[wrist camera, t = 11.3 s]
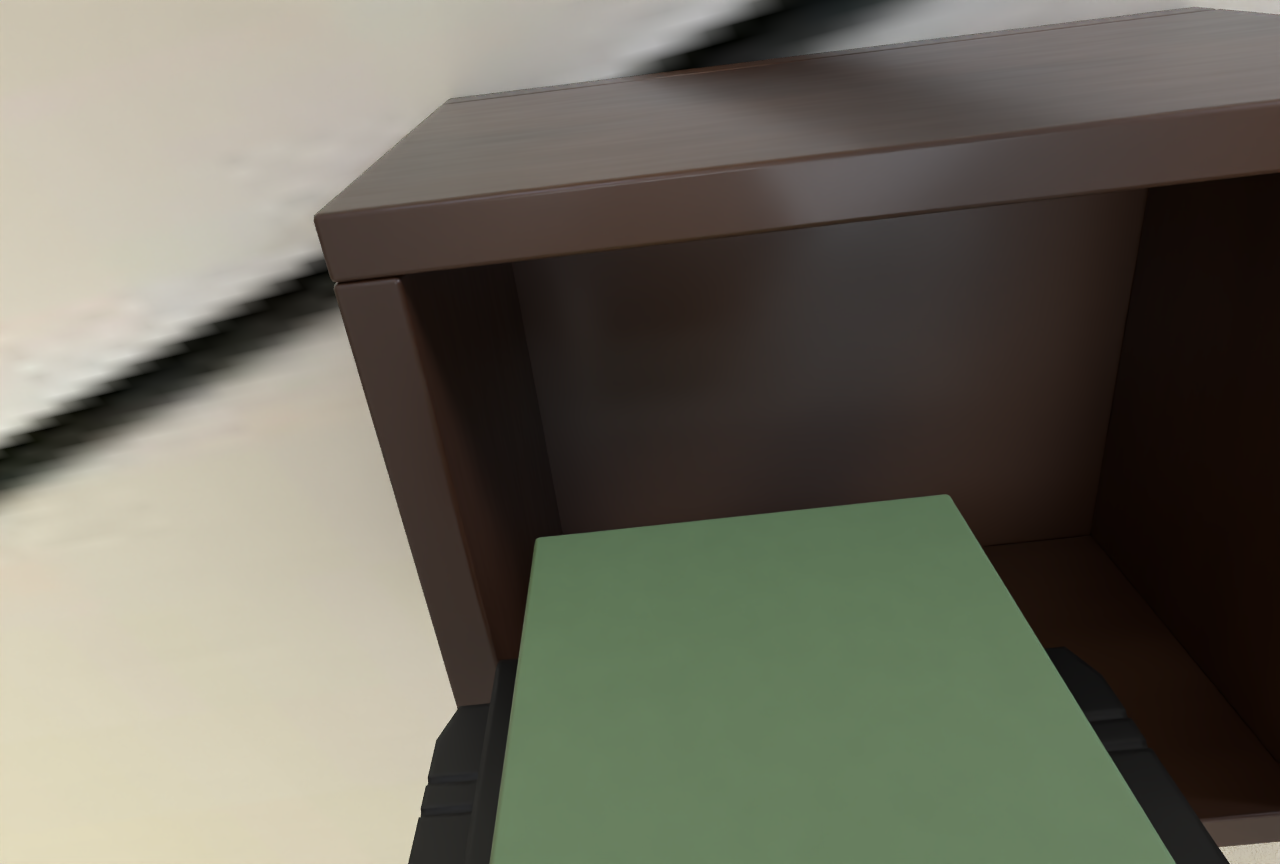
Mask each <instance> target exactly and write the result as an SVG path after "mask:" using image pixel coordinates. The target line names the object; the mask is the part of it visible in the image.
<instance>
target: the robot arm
mask: <svg viewBox="0 0 1280 864" xmlns="http://www.w3.org/2000/svg"><path fill="white" fill-rule="evenodd" d="M1044 650H1045V652H1046V653H1047V655H1048V656H1049V658H1050V660H1051V661H1052V663H1053V665H1054V666H1055V668H1056V669H1057V671H1058V673H1059V674H1060V676H1061V678H1062V679H1063V681H1064V682H1065V684H1066V686H1067V687H1068V689H1069V691H1070V692H1071V694H1072V695H1073V697H1074V699H1075V700H1076V702H1077V704H1078V705H1079V707H1080V708H1081V710H1082V712H1083V713H1084V715H1085V717H1086V718H1087V720H1088V721H1089V723H1090V725H1091V726H1092V728H1093V730H1094V731H1095V733H1096V734H1097V736H1098V738H1099V739H1100V741H1101V743H1102V744H1103V746H1104V747H1105V749H1106V751H1107V752H1108V754H1109V756H1110V757H1111V759H1112V760H1113V762H1114V764H1115V765H1116V767H1117V769H1118V770H1119V772H1120V773H1121V775H1122V777H1123V778H1124V780H1125V782H1126V783H1127V785H1128V786H1129V788H1130V790H1131V791H1132V793H1133V795H1134V796H1135V798H1136V800H1137V801H1138V803H1139V804H1140V806H1141V808H1142V809H1143V811H1144V813H1145V814H1146V816H1147V817H1148V819H1149V821H1150V822H1151V824H1152V826H1153V827H1154V829H1155V830H1156V832H1157V834H1158V835H1159V837H1160V839H1161V840H1162V842H1163V843H1164V845H1165V847H1166V848H1167V850H1168V852H1169V853H1170V855H1171V856H1172V858H1173V860H1174V861H1175V863H1176V864H1230V863H1229V862H1228V861H1227V859H1226V858H1225V856H1224V855H1223V853H1222V852H1221V850H1220V849H1219V847H1218V846H1217V844H1216V843H1215V841H1214V840H1213V838H1212V837H1211V835H1210V834H1209V832H1208V831H1207V829H1206V828H1205V826H1204V825H1203V823H1202V822H1201V821H1200V819H1199V818H1198V816H1197V815H1196V813H1195V812H1194V810H1193V809H1192V807H1191V806H1190V804H1189V803H1188V801H1187V800H1186V798H1185V797H1184V795H1183V794H1182V792H1181V791H1180V789H1179V788H1178V786H1177V785H1176V783H1175V782H1174V780H1173V779H1172V778H1171V776H1170V775H1169V773H1168V772H1167V770H1166V769H1165V767H1164V766H1163V764H1162V763H1161V761H1160V760H1159V758H1158V757H1157V755H1156V754H1155V752H1154V751H1153V749H1152V748H1148V746H1147V743H1146V739H1145V738H1144V736H1143V735H1142V733H1141V732H1140V730H1139V729H1138V727H1137V726H1136V724H1135V723H1134V721H1133V720H1132V718H1128V717H1127V713H1126V709H1125V708H1124V706H1123V705H1122V703H1121V702H1120V700H1119V699H1118V698H1117V696H1116V695H1115V693H1114V692H1113V690H1112V689H1111V687H1110V686H1109V684H1108V683H1107V681H1106V680H1105V678H1104V677H1103V675H1102V674H1100V673H1099V672H1098V671H1096V670H1095V669H1094V668H1092V667H1091V666H1090V665H1089V664H1087V663H1086V662H1085V661H1083V660H1082V659H1081V658H1079V657H1078V656H1077V655H1075V654H1074V653H1073V652H1072V651H1070V650H1069V649H1068V648H1066V647H1065V646H1063V647H1053V648H1044ZM517 666H518V658H516V659H507V660H500V661H499V662H498V664H497V666H496V671H495V677H494V682H493V688H492V694H491V700H490V703H487V704H477V705H467V706H460V707H459V708H458V710H457V711H456V713H455V714H454V716H453V717H452V719H451V720H450V721H449V723H448V724H447V726H446V727H445V729H444V730H443V732H442V733H441V734H440V736H439V737H438V739H437V740H436V744H435V749H434V753H433V757H432V762H431V766H430V771H429V775H428V785H427V786H426V788H425V792H424V797H423V801H422V806H421V817H419V819H418V823H417V828H416V832H415V836H414V841H413V845H412V849H411V854H410V858H409V863H408V864H490V857H491V850H492V843H493V835H494V828H495V821H496V814H497V807H498V800H499V793H500V786H501V779H502V772H503V765H504V758H505V750H506V743H507V736H508V729H509V722H510V715H511V708H512V701H513V694H514V687H515V680H516V673H517Z"/></svg>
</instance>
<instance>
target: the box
mask: <svg viewBox="0 0 1280 864" xmlns="http://www.w3.org/2000/svg"><path fill="white" fill-rule="evenodd" d="M314 224H315V227H316V231H317V234H318V237H319V241H320V244H321V248H322V251H323V254H324V258H325V261H326V264H327V268H328V271H329V275H330V278H331V279H332V281H333V282H337V283H336V284H335V285H334V292H335V295H336V298H337V302H338V305H339V309H340V312H341V315H342V319H343V322H344V325H345V329H346V332H347V336H348V339H349V342H350V346H351V349H352V353H353V356H354V359H355V363H356V366H357V369H358V373H359V376H360V380H361V383H362V386H363V390H364V393H365V397H366V400H367V403H368V407H369V410H370V414H371V417H372V420H373V424H374V427H375V430H376V434H377V437H378V441H379V444H380V447H381V451H382V454H383V458H384V461H385V464H386V468H387V471H388V474H389V478H390V481H391V485H392V488H393V491H394V495H395V498H396V502H397V505H398V508H399V512H400V515H401V519H402V522H403V525H404V529H405V532H406V535H407V539H408V542H409V546H410V549H411V552H412V556H413V559H414V563H415V566H416V569H417V573H418V576H419V579H420V583H421V586H422V590H423V593H424V596H425V600H426V603H427V607H428V610H429V613H430V617H431V620H432V624H433V627H434V630H435V634H436V637H437V640H438V644H439V647H440V651H441V654H442V657H443V661H444V664H445V668H446V671H447V674H448V678H449V681H450V684H451V688H452V691H453V695H454V698H455V701H456V705H457V708H459V707H460V706H467V705H477V704H487V703H490V700H491V694H492V688H493V682H494V677H495V671H496V666H497V664H498V662H499V661H500V660H507V659H516V658H519V651H520V644H521V637H522V630H523V623H524V616H525V609H526V602H527V595H528V588H529V581H530V573H531V566H532V559H533V552H534V545H535V541H536V539H537V538H539V537H548V536H558V535H567V534H577V533H586V532H595V531H605V530H614V529H624V528H633V527H642V526H652V525H661V524H670V523H680V522H689V521H699V520H708V519H717V518H727V517H736V516H745V515H755V514H764V513H774V512H783V511H792V510H802V509H811V508H820V507H830V506H839V505H849V504H858V503H867V502H877V501H886V500H896V499H905V498H914V497H924V496H933V495H942V494H946V495H949V496H950V497H951V499H952V500H953V502H954V504H955V505H956V507H957V508H958V510H959V512H960V513H961V515H962V517H963V518H964V520H965V521H966V523H967V525H968V526H969V528H970V530H971V531H972V533H973V534H974V536H975V538H976V539H977V541H978V543H979V544H980V546H981V547H982V549H983V551H984V552H985V554H986V556H987V557H988V559H989V560H990V562H991V564H992V565H993V567H994V569H995V570H996V572H997V573H998V575H999V577H1000V578H1001V580H1002V582H1003V583H1004V585H1005V586H1006V588H1007V590H1008V591H1009V593H1010V595H1011V596H1012V598H1013V599H1014V601H1015V603H1016V604H1017V606H1018V608H1019V609H1020V611H1021V612H1022V614H1023V616H1024V617H1025V619H1026V621H1027V622H1028V624H1029V625H1030V627H1031V629H1032V630H1033V632H1034V634H1035V635H1036V637H1037V638H1038V640H1039V642H1040V643H1041V645H1042V647H1043V648H1053V647H1063V646H1065V647H1066V648H1068V649H1069V650H1070V651H1072V652H1073V653H1074V654H1075V655H1077V656H1078V657H1079V658H1081V659H1082V660H1083V661H1085V662H1086V663H1087V664H1089V665H1090V666H1091V667H1092V668H1094V669H1095V670H1096V671H1098V672H1099V673H1100V674H1102V675H1103V677H1104V678H1105V680H1106V681H1107V683H1108V684H1109V686H1110V687H1111V689H1112V690H1113V692H1114V693H1115V695H1116V696H1117V698H1118V699H1119V700H1120V702H1121V703H1122V705H1123V706H1124V708H1125V709H1126V713H1127V717H1128V718H1132V720H1133V721H1134V723H1135V724H1136V726H1137V727H1138V729H1139V730H1140V732H1141V733H1142V735H1143V736H1144V738H1145V739H1146V743H1147V746H1148V748H1152V749H1153V751H1154V752H1155V754H1156V755H1157V757H1158V758H1159V760H1160V761H1161V763H1162V764H1163V766H1164V767H1165V769H1166V770H1167V772H1168V773H1169V775H1170V776H1171V778H1172V779H1173V780H1174V782H1175V783H1176V785H1177V786H1178V788H1179V789H1180V791H1181V792H1182V794H1183V795H1184V797H1185V798H1186V800H1187V801H1188V803H1189V804H1190V806H1191V807H1192V809H1193V810H1194V812H1195V813H1196V815H1197V816H1198V818H1199V819H1200V821H1201V822H1202V823H1203V825H1204V826H1205V828H1206V829H1207V831H1208V832H1209V834H1210V835H1211V837H1212V838H1213V840H1214V841H1215V843H1216V844H1217V846H1218V847H1226V846H1237V845H1248V844H1259V843H1270V842H1280V15H1278V14H1267V13H1256V12H1245V11H1234V10H1223V9H1218V10H1216V9H1211V8H1200V7H1190V8H1182V9H1174V10H1166V11H1158V12H1150V13H1142V14H1133V15H1125V16H1117V17H1109V18H1101V19H1093V20H1085V21H1077V22H1068V23H1060V24H1052V25H1044V26H1036V27H1028V28H1020V29H1012V30H1003V31H995V32H987V33H979V34H971V35H963V36H955V37H947V38H939V39H930V40H922V41H914V42H906V43H898V44H890V45H882V46H874V47H865V48H857V49H849V50H841V51H833V52H825V53H817V54H809V55H800V56H792V57H784V58H776V59H768V60H760V61H752V62H744V63H736V64H727V65H719V66H711V67H703V68H695V69H687V70H679V71H671V72H662V73H654V74H646V75H638V76H630V77H622V78H614V79H606V80H597V81H589V82H581V83H573V84H565V85H557V86H549V87H541V88H533V89H524V90H516V91H508V92H500V93H492V94H484V95H476V96H468V97H459V98H451V99H449V100H447V101H446V102H445V103H444V104H443V105H442V106H440V107H439V108H438V109H437V110H436V111H434V112H433V113H432V114H431V115H430V116H429V117H427V118H426V119H425V120H424V121H423V122H422V123H421V124H419V125H418V126H417V127H416V128H415V129H414V130H412V131H411V132H410V133H409V134H408V135H407V136H406V137H404V138H403V139H402V140H401V141H400V142H399V143H397V144H396V145H395V146H394V147H393V148H392V149H391V150H389V151H388V152H387V153H386V154H385V155H384V156H382V157H381V158H380V159H379V160H378V161H377V162H375V163H374V164H373V165H372V166H371V167H370V168H369V169H367V170H366V171H365V172H364V173H363V174H362V175H360V176H359V177H358V178H357V179H356V180H355V181H354V182H352V183H351V184H350V185H349V186H348V187H347V188H345V189H344V190H343V191H342V192H341V193H340V194H339V195H337V196H336V197H335V198H334V199H333V200H332V201H330V202H329V203H328V204H327V205H326V206H325V207H324V208H322V209H321V210H320V211H319V212H318V213H317V214H315V215H314Z"/></svg>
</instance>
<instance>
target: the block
mask: <svg viewBox="0 0 1280 864" xmlns="http://www.w3.org/2000/svg"><path fill="white" fill-rule="evenodd" d="M490 864H1176V863H1175V861H1174V860H1173V858H1172V856H1171V855H1170V853H1169V852H1168V850H1167V848H1166V847H1165V845H1164V843H1163V842H1162V840H1161V839H1160V837H1159V835H1158V834H1157V832H1156V830H1155V829H1154V827H1153V826H1152V824H1151V822H1150V821H1149V819H1148V817H1147V816H1146V814H1145V813H1144V811H1143V809H1142V808H1141V806H1140V804H1139V803H1138V801H1137V800H1136V798H1135V796H1134V795H1133V793H1132V791H1131V790H1130V788H1129V786H1128V785H1127V783H1126V782H1125V780H1124V778H1123V777H1122V775H1121V773H1120V772H1119V770H1118V769H1117V767H1116V765H1115V764H1114V762H1113V760H1112V759H1111V757H1110V756H1109V754H1108V752H1107V751H1106V749H1105V747H1104V746H1103V744H1102V743H1101V741H1100V739H1099V738H1098V736H1097V734H1096V733H1095V731H1094V730H1093V728H1092V726H1091V725H1090V723H1089V721H1088V720H1087V718H1086V717H1085V715H1084V713H1083V712H1082V710H1081V708H1080V707H1079V705H1078V704H1077V702H1076V700H1075V699H1074V697H1073V695H1072V694H1071V692H1070V691H1069V689H1068V687H1067V686H1066V684H1065V682H1064V681H1063V679H1062V678H1061V676H1060V674H1059V673H1058V671H1057V669H1056V668H1055V666H1054V665H1053V663H1052V661H1051V660H1050V658H1049V656H1048V655H1047V653H1046V652H1045V650H1044V648H1043V647H1042V645H1041V643H1040V642H1039V640H1038V638H1037V637H1036V635H1035V634H1034V632H1033V630H1032V629H1031V627H1030V625H1029V624H1028V622H1027V621H1026V619H1025V617H1024V616H1023V614H1022V612H1021V611H1020V609H1019V608H1018V606H1017V604H1016V603H1015V601H1014V599H1013V598H1012V596H1011V595H1010V593H1009V591H1008V590H1007V588H1006V586H1005V585H1004V583H1003V582H1002V580H1001V578H1000V577H999V575H998V573H997V572H996V570H995V569H994V567H993V565H992V564H991V562H990V560H989V559H988V557H987V556H986V554H985V552H984V551H983V549H982V547H981V546H980V544H979V543H978V541H977V539H976V538H975V536H974V534H973V533H972V531H971V530H970V528H969V526H968V525H967V523H966V521H965V520H964V518H963V517H962V515H961V513H960V512H959V510H958V508H957V507H956V505H955V504H954V502H953V500H952V499H951V497H950V496H949V495H946V494H942V495H933V496H924V497H914V498H905V499H896V500H886V501H877V502H867V503H858V504H849V505H839V506H830V507H820V508H811V509H802V510H792V511H783V512H774V513H764V514H755V515H745V516H736V517H727V518H717V519H708V520H699V521H689V522H680V523H670V524H661V525H652V526H642V527H633V528H624V529H614V530H605V531H595V532H586V533H577V534H567V535H558V536H548V537H539V538H537V539H536V541H535V545H534V552H533V559H532V566H531V573H530V581H529V588H528V595H527V602H526V609H525V616H524V623H523V630H522V637H521V644H520V651H519V658H518V666H517V673H516V680H515V687H514V694H513V701H512V708H511V715H510V722H509V729H508V736H507V743H506V750H505V758H504V765H503V772H502V779H501V786H500V793H499V800H498V807H497V814H496V821H495V828H494V835H493V843H492V850H491V857H490Z"/></svg>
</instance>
